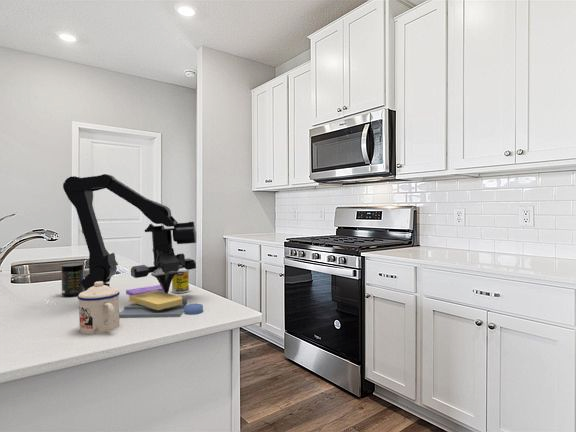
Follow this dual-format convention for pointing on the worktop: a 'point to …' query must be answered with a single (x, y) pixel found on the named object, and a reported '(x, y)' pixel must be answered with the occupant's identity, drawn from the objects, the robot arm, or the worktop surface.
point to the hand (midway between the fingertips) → (166, 294)
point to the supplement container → (72, 279)
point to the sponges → (144, 290)
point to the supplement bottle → (181, 281)
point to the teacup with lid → (99, 309)
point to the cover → (158, 300)
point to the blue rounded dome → (193, 309)
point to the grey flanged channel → (151, 312)
